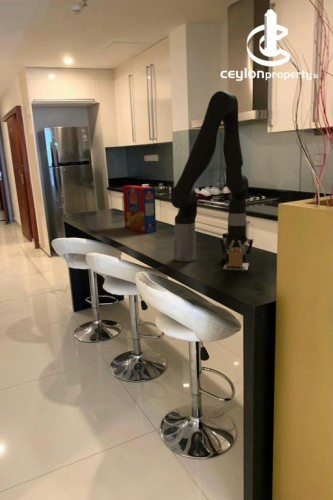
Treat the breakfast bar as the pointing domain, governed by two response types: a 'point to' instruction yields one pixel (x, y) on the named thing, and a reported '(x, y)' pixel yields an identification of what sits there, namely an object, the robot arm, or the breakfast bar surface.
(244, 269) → the square plate with peg
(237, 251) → the orange toy brick
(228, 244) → the box
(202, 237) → the breakfast bar surface
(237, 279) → the breakfast bar surface
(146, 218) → the pasta box
